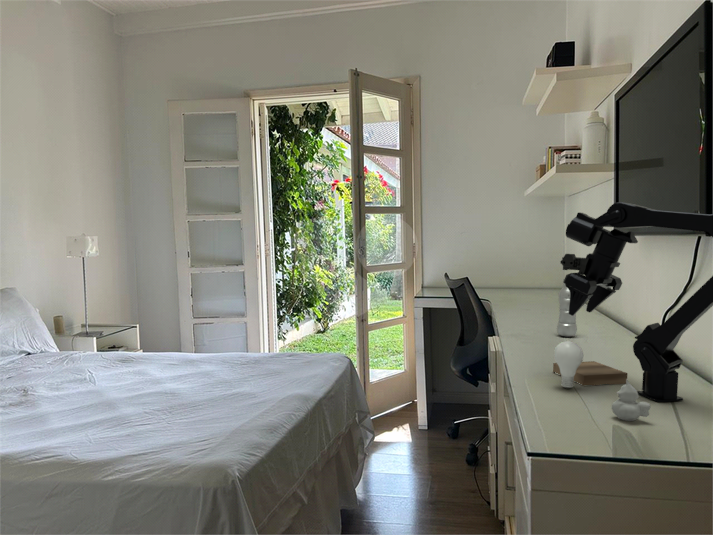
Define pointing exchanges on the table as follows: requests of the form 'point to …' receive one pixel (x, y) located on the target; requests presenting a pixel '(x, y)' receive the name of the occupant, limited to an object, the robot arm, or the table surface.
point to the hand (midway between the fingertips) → (579, 313)
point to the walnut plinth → (596, 374)
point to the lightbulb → (568, 361)
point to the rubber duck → (629, 404)
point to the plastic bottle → (566, 315)
